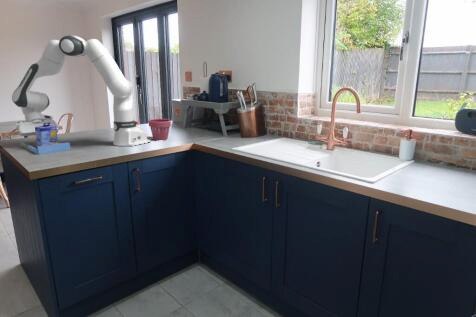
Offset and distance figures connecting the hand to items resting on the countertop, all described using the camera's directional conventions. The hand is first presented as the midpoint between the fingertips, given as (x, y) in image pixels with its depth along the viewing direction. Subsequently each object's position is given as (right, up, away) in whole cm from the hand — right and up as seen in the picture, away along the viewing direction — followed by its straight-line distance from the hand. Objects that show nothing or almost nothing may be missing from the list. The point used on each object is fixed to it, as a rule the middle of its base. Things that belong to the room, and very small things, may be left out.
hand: (43, 139), depth 188 cm
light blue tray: (+1, -4, 0) cm, 5 cm away
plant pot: (+61, +2, +29) cm, 67 cm away
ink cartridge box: (+3, -5, 0) cm, 6 cm away
